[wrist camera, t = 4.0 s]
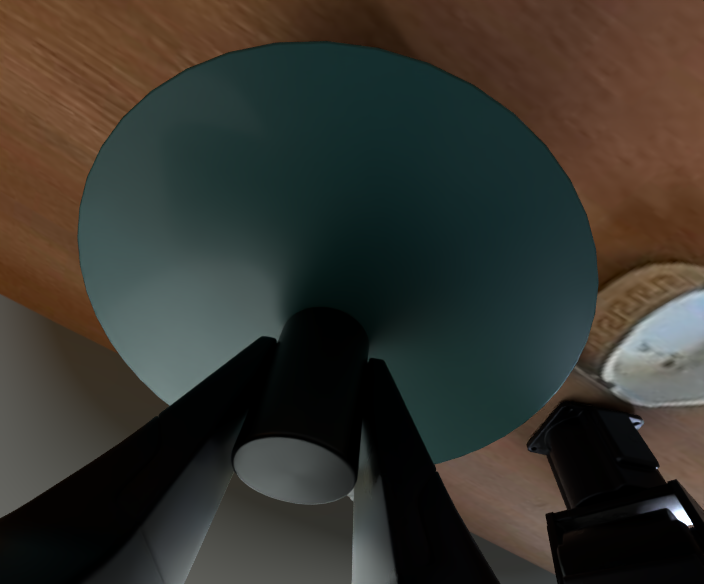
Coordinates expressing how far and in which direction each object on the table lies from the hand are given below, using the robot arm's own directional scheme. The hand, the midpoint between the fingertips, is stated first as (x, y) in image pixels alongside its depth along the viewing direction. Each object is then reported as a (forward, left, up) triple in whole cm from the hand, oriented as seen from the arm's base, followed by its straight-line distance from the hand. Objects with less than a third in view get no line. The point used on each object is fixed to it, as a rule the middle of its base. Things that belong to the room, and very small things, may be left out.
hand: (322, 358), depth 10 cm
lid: (0, 0, -1) cm, 1 cm away
